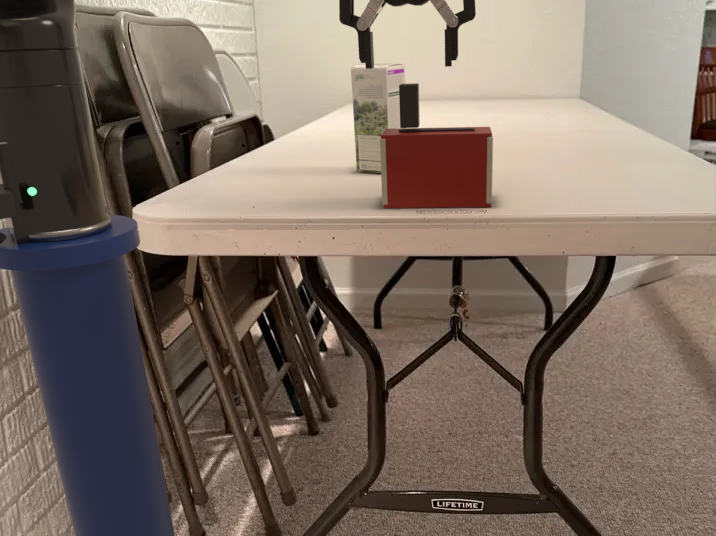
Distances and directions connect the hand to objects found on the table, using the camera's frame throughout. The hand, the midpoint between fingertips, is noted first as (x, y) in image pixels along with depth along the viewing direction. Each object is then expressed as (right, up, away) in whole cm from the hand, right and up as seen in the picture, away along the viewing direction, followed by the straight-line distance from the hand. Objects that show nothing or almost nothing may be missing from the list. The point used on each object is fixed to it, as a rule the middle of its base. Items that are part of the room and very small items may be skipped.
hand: (409, 67), depth 78 cm
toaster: (+3, -14, +5) cm, 15 cm away
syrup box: (-4, -6, +26) cm, 27 cm away
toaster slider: (0, -6, +2) cm, 6 cm away
